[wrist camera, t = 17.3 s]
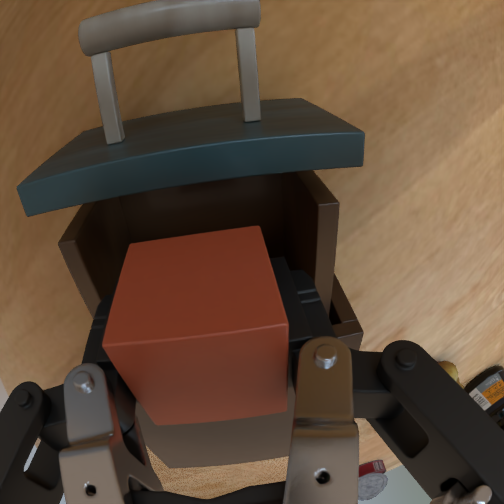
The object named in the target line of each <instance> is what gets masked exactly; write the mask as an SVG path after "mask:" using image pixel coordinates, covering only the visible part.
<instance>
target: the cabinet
mask: <svg viewBox="0 0 504 504" xmlns="http://www.w3.org/2000/svg"><path fill="white" fill-rule="evenodd" d="M329 319H330V322H331V324H332V327H333V329H334V332H335V334H336V336H337V338H338V339H339V340H341V341H342V342H344V343H345V344H346V345H347V346H348V347H349V348H351V349H354V350H358V351H359V348H360V345H361V341H362V337H363V333H364V332H363V330H362V328H361V326H360V324H359V321H358V320H357V317H356V315H355V313H354V311H353V309H352V307H351V305H350V303H349V301H348V299H347V297H346V295H345V293H344V291H343V289H342V287H341V285H340V283H339V281H338V279H337V278H336V276H335V274H334V276H333V285H332V294H331V303H330V311H329ZM295 397H296V395H295V392H294V388H293V387H290V388H288V404H287V411H285V412H280V413H274V414H268V415H262V416H255V417H248V418H240V419H232V420H223V421H214V422H203V423H190V424H175V425H155V424H154V422H153V421H152V420H151V418H150V417H149V416H148V414H147V413H146V411H145V410H144V409H143V407H142V406H141V405H140V403H136V409H135V414H136V416H137V417H138V420H139V424H140V428H141V431H142V435H143V439H144V442H145V445H146V446H147V447H148V448H149V449H150V450H151V451H152V452H153V453H154V454H155V455H156V456H157V457H158V458H159V459H160V460H161V461H162V462H163V463H164V464H165V465H166V466H167V467H169V468H189V467H206V466H219V465H230V464H239V463H247V462H254V461H262V460H268V459H274V458H280V457H286V456H289V452H290V443H291V434H292V425H293V418H294V408H295Z"/></svg>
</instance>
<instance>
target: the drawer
mask: <svg viewBox="0 0 504 504" xmlns="http://www.w3.org/2000/svg"><path fill="white" fill-rule="evenodd" d="M260 19H261V6H260V0H156V1H151V2H147V3H142V4H138V5H134V6H129V7H126V8H122V9H118V10H114V11H111V12H107V13H104V14H100V15H97V16H94V17H91V18H88V19H85V20H83V21H81V23H80V25H79V30H78V36H79V43H80V46H81V49H82V51H83V53H84V54H85V55H86V56H88V57H91V61H92V68H93V74H94V80H95V86H96V92H97V97H98V103H99V108H100V113H101V118H102V123H103V126H102V127H98V128H94V129H90V130H87V131H84V132H82V133H81V134H80V135H78V136H77V137H76V138H74V139H73V140H72V141H70V142H69V143H68V144H66V145H65V146H64V147H63V148H61V149H60V150H59V151H58V152H56V153H55V154H54V155H53V156H51V157H50V158H49V159H48V160H46V161H45V162H44V163H43V164H42V165H41V166H39V167H38V168H37V169H36V170H35V171H34V172H32V173H31V174H30V175H29V176H28V177H27V178H26V179H25V180H23V181H22V182H21V183H20V184H19V185H18V186H17V191H18V194H19V197H20V200H21V202H22V205H23V208H24V210H25V213H26V215H27V217H29V216H33V215H37V214H41V213H46V212H50V211H54V210H58V209H63V208H67V207H72V206H76V205H81V204H83V205H82V206H81V208H80V209H79V211H78V212H77V214H76V215H75V217H74V218H73V220H72V221H71V223H70V224H69V226H68V228H67V229H66V231H65V232H64V234H63V236H62V237H61V239H60V240H59V242H58V246H59V248H60V250H61V253H62V255H63V257H64V260H65V262H66V264H67V266H68V269H69V271H70V273H71V275H72V277H73V279H74V281H75V283H76V286H77V288H78V290H79V292H80V294H81V296H82V298H83V300H84V302H85V304H86V306H87V308H88V310H89V311H90V313H91V315H92V317H93V319H94V316H95V312H96V309H97V306H98V305H99V303H100V302H101V301H102V299H103V298H104V297H105V295H110V294H113V290H114V287H115V284H116V281H117V279H119V277H120V274H121V270H122V267H123V264H124V260H125V257H126V254H127V251H128V248H129V245H130V244H132V243H138V242H145V241H151V240H158V239H165V238H172V237H178V236H185V235H192V234H199V233H206V232H213V231H221V230H228V229H235V228H243V227H250V226H260V228H261V232H262V235H263V238H264V242H265V245H266V248H267V252H268V255H269V258H276V257H283V256H284V257H285V259H286V262H287V264H288V267H289V270H290V271H292V270H299V269H302V270H303V271H305V272H306V273H307V274H308V275H309V276H310V277H312V279H313V281H314V284H315V286H316V288H317V291H318V293H319V296H320V298H321V301H322V303H323V305H324V307H325V310H326V312H327V315H328V317H329V311H330V303H331V294H332V285H333V276H334V266H335V255H336V244H337V231H338V218H339V202H338V200H337V199H336V198H335V197H334V195H333V194H332V193H331V192H330V190H329V189H328V188H327V187H326V186H325V184H324V183H323V182H322V181H321V179H320V178H319V177H318V176H317V175H316V173H315V172H314V171H313V170H320V169H333V168H347V167H362V166H363V159H364V140H365V133H364V132H363V131H361V130H360V129H358V128H356V127H354V126H353V125H351V124H349V123H347V122H346V121H344V120H342V119H340V118H338V117H337V116H335V115H333V114H331V113H329V112H327V111H326V110H324V109H322V108H320V107H318V106H316V105H314V104H312V103H310V102H308V101H306V100H304V99H302V98H293V99H275V100H261V101H260V96H259V83H258V70H257V57H256V45H255V32H254V28H257V27H259V24H260ZM230 29H236V30H235V36H236V48H237V59H238V70H239V81H240V92H241V102H239V103H230V104H221V105H213V106H206V107H199V108H192V109H185V110H179V111H173V112H167V113H162V114H157V115H151V116H146V117H141V118H137V119H132V120H127V121H123V122H122V120H121V115H120V109H119V104H118V98H117V92H116V86H115V80H114V74H113V67H112V60H111V53H110V52H108V51H111V50H115V49H119V48H123V47H127V46H131V45H135V44H140V43H144V42H149V41H154V40H159V39H164V38H170V37H175V36H181V35H188V34H195V33H202V32H210V31H219V30H230Z"/></svg>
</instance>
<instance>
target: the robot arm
mask: <svg viewBox="0 0 504 504" xmlns="http://www.w3.org/2000/svg"><path fill="white" fill-rule="evenodd" d="M270 262H271V265H272V268H273V272H274V275H275V279H276V282H277V285H278V289H279V292H280V296H281V299H282V302H283V306H284V309H285V313H286V316H287V320H288V323H289V352H288V388H290V387H293V388H294V392H295V395H296V397H295V408H294V418H293V425H292V434H291V443H290V452H289V460H288V468H287V476H286V481H281V482H275V483H269V484H262V485H255V486H248V487H246V488H243V489H240V490H237V491H234V492H231V493H228V494H225V495H222V496H219V497H216V498H212V499H200V498H195V497H189V496H185V495H180V494H176V493H171V492H167V491H164V489H163V487H162V484H161V482H160V480H159V478H158V477H157V475H156V474H155V472H154V470H153V468H152V466H151V463H150V459H149V456H148V453H147V449H146V446H145V442H144V439H143V435H142V431H141V428H140V424H139V420H138V417H137V416H136V414H135V409H136V403H139V402H138V400H137V399H136V398H135V396H134V395H133V393H132V392H131V390H130V389H129V387H128V386H127V385H126V383H125V382H124V380H123V379H122V377H121V376H120V374H119V373H118V371H117V369H116V368H115V366H114V365H113V363H112V362H111V360H110V358H109V357H108V355H107V354H106V352H105V350H104V349H103V347H102V342H103V338H104V334H105V329H106V325H107V321H108V317H109V313H110V310H111V306H112V302H113V298H114V295H115V291H116V288H117V284H118V281H119V279H117V281H116V284H115V287H114V290H113V294H110V295H105V297H104V298H103V299H102V301H101V302H100V303H99V305H98V306H97V309H96V312H95V316H94V320H93V323H92V326H91V328H92V329H91V330H90V333H89V337H88V341H87V344H86V348H85V352H84V356H83V360H82V364H81V365H78V366H76V367H75V368H73V369H72V370H71V371H70V372H69V373H68V375H67V376H66V378H65V381H64V384H62V385H59V386H56V387H53V388H50V389H47V390H42V389H41V388H40V387H39V386H38V385H37V384H36V383H34V382H30V381H29V382H23V383H21V384H20V385H18V386H17V387H16V388H15V389H14V390H13V391H12V393H11V394H10V396H9V398H8V400H7V401H6V403H5V405H4V407H3V409H2V411H1V412H0V504H59V503H60V501H61V498H62V496H63V493H64V495H65V500H66V504H358V482H359V430H358V425H357V423H355V421H354V418H366V420H367V421H368V422H369V423H370V424H371V426H372V427H373V428H374V429H375V431H376V432H377V433H378V434H379V436H380V437H381V438H382V439H383V441H384V442H385V443H386V444H387V445H388V447H389V448H390V449H391V450H392V452H393V453H394V454H395V455H396V457H397V458H398V459H399V460H400V461H401V463H402V464H403V465H404V466H405V468H406V469H407V470H408V471H409V472H410V474H411V475H412V476H413V477H414V479H415V480H416V481H417V482H418V483H419V485H420V486H421V487H422V488H423V489H424V491H425V492H426V493H427V494H428V495H429V497H430V498H431V499H432V501H431V502H430V504H504V431H503V430H502V429H501V428H500V427H499V425H498V424H497V423H496V422H495V421H494V420H493V419H492V418H491V417H490V416H489V415H488V414H487V413H486V412H485V411H484V410H483V409H482V407H481V406H480V405H479V404H478V403H477V402H476V401H475V400H474V399H473V398H472V397H471V396H470V395H469V394H468V393H467V392H466V391H465V390H464V389H463V388H462V387H461V386H460V385H459V384H458V383H457V382H456V381H455V380H454V379H453V378H452V377H451V376H450V375H449V374H448V373H447V372H446V371H445V370H444V369H443V368H442V367H441V366H440V365H439V364H438V363H437V362H436V361H435V360H434V359H433V358H432V357H431V356H430V355H429V354H428V353H427V352H426V351H425V350H424V349H423V348H422V347H421V346H419V345H418V344H416V343H414V342H411V341H406V340H399V341H395V342H392V343H390V344H389V345H387V346H386V347H385V349H384V350H383V352H367V351H358V350H354V349H351V348H349V347H348V346H347V345H346V344H345V343H344V342H342V341H341V340H339V339H338V338H337V336H336V334H335V332H334V329H333V327H332V324H331V322H330V319H329V317H328V315H327V312H326V310H325V307H324V305H323V303H322V301H321V298H320V296H319V293H318V291H317V288H316V286H315V284H314V281H313V279H312V277H310V276H309V275H308V274H307V273H306V272H305V271H303V270H302V269H299V270H292V271H290V270H289V267H288V264H287V262H286V259H285V257H284V256H283V257H276V258H270ZM37 438H39V439H41V442H40V444H39V446H38V448H37V450H36V453H35V455H34V457H33V459H32V461H31V463H30V466H29V468H28V469H27V470H26V471H25V472H24V465H25V463H26V461H27V459H28V457H29V455H30V452H31V450H32V448H33V446H34V444H35V442H36V440H37Z"/></svg>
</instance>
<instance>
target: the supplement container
mask: <svg viewBox="0 0 504 504" xmlns="http://www.w3.org/2000/svg"><path fill="white" fill-rule="evenodd" d="M464 390H465V391H466V392H467V393H468V394H469V395H470V396H471V397H472V398H473V399H474V400H475V401H476V402H477V403H478V404H479V405H480V406H481V407H482V409H483V410H484V411H485V412H486V413H487V414H488V415H489V416H490V417H491V418H492V419H493V420H494V421H495V422H496V423H497V424H498V425H499V427H500V428H501V429H502V430H503V431H504V367H502V366H494V367H491V368H489V369H488V370H486V371H484V372H483V373H481V374H480V375H479V376H477V377H476V378H475V379H474V380H473V381H471V382H470V383H469V384H468V385H467V386H466V387H465V388H464Z"/></svg>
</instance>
